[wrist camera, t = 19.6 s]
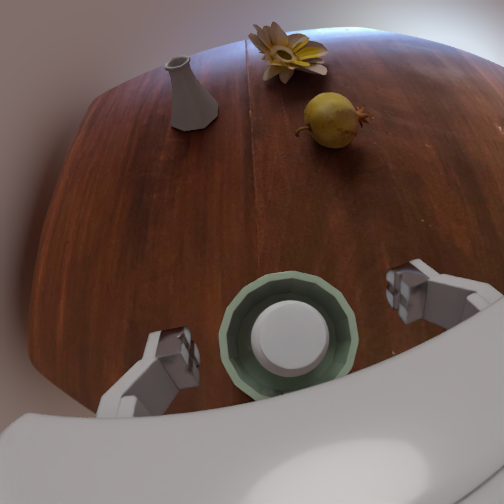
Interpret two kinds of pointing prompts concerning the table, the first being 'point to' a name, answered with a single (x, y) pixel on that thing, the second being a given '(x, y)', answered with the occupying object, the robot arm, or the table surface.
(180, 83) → the flask
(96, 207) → the table surface
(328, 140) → the fruit
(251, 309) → the crock
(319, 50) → the decorative flower
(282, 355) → the pill bottle
